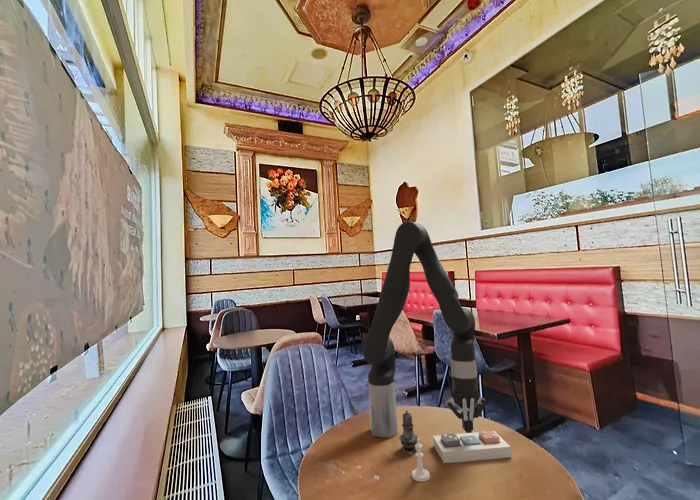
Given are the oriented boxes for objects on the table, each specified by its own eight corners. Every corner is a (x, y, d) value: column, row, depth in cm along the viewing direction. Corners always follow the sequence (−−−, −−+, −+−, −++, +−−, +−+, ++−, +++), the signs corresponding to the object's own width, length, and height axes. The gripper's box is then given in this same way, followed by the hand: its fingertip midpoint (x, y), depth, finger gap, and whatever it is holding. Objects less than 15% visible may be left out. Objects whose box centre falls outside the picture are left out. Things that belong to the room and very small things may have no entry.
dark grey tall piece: (419, 455, 101) (416, 414, 102) (399, 454, 102) (396, 413, 103) (419, 445, 107) (416, 406, 108) (400, 444, 108) (397, 406, 109)
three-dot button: (446, 450, 99) (445, 441, 99) (441, 443, 103) (440, 434, 104) (460, 449, 99) (460, 439, 99) (455, 442, 104) (454, 433, 104)
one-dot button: (466, 452, 99) (465, 442, 99) (460, 444, 104) (460, 435, 104) (480, 451, 99) (479, 441, 100) (474, 443, 104) (473, 434, 104)
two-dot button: (485, 447, 100) (484, 437, 100) (479, 439, 104) (478, 430, 104) (500, 445, 100) (499, 436, 100) (493, 438, 104) (492, 429, 104)
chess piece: (431, 472, 92) (429, 435, 93) (428, 483, 87) (425, 443, 88) (414, 469, 94) (411, 432, 95) (409, 479, 89) (407, 440, 90)
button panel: (443, 463, 96) (443, 452, 96) (433, 445, 106) (432, 436, 106) (511, 457, 97) (510, 446, 97) (495, 440, 107) (494, 430, 107)
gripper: (479, 369, 107) (483, 424, 106) (439, 371, 107) (442, 427, 106) (490, 376, 100) (495, 436, 99) (447, 378, 99) (451, 439, 98)
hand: (468, 431), depth 102 cm, fingers closed
